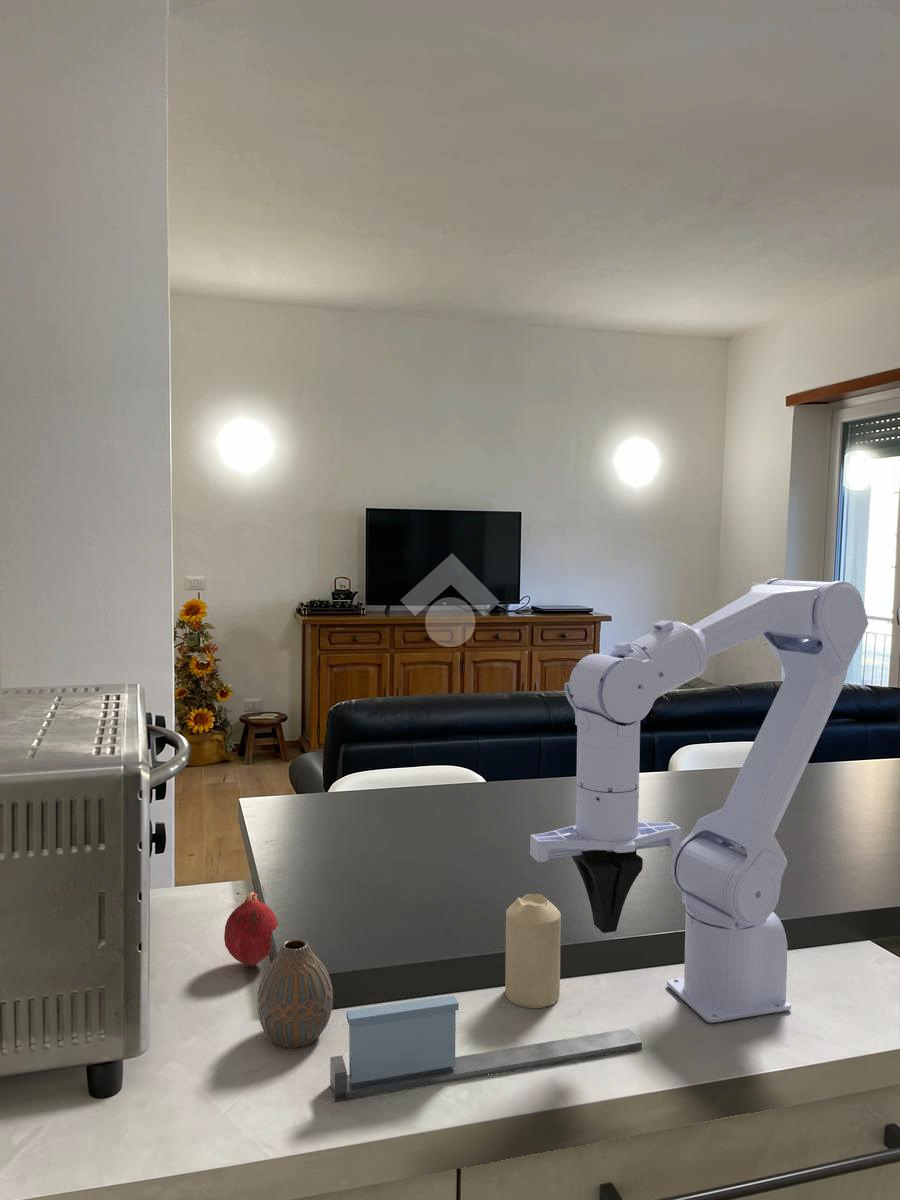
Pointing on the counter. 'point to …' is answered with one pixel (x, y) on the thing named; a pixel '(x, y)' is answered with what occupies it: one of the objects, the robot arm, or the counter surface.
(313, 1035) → the vase
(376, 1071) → the panel
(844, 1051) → the counter surface
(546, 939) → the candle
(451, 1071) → the rail
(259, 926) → the onion
